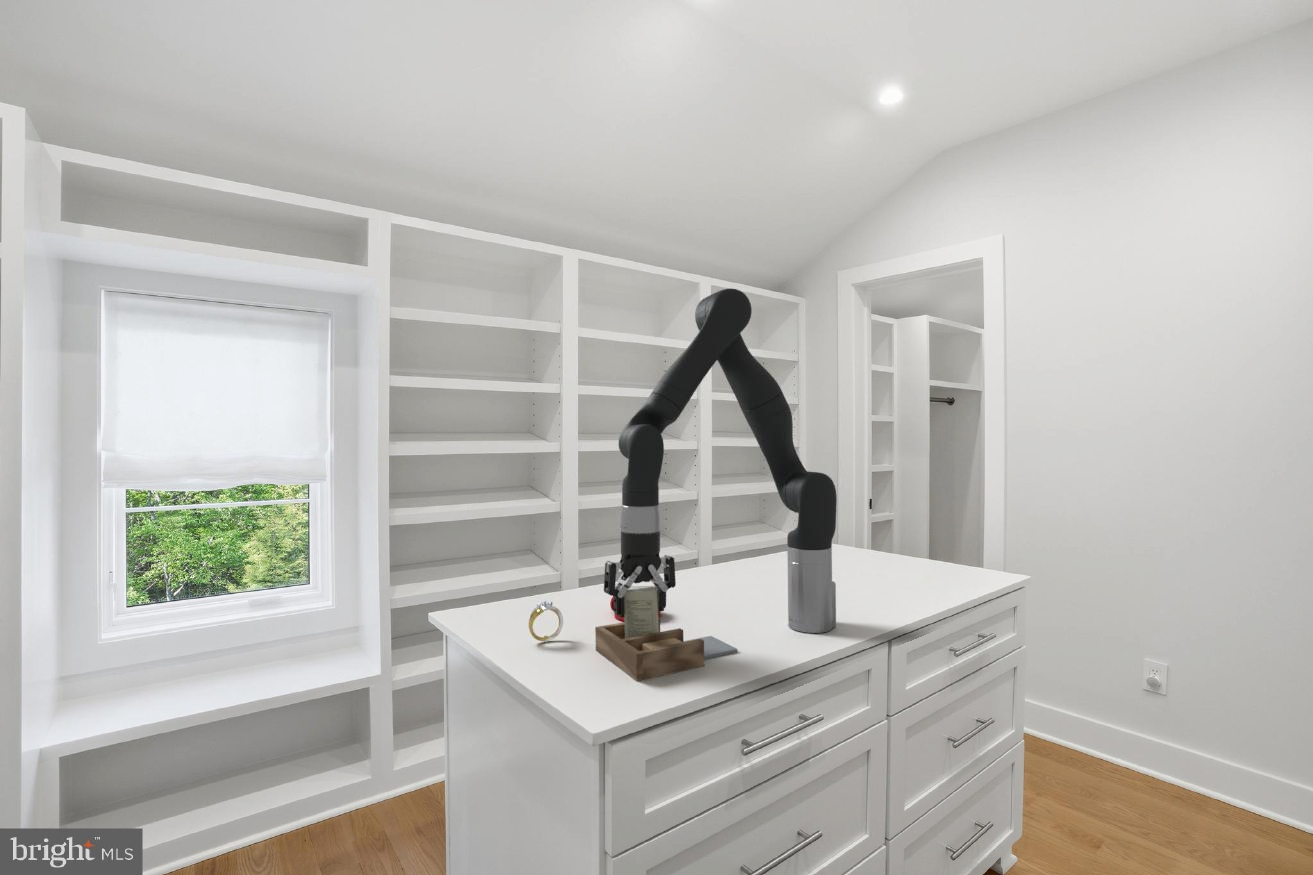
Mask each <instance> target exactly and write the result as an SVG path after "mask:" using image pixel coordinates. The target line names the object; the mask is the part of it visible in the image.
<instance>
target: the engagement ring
mask: <svg viewBox="0 0 1313 875" xmlns="http://www.w3.org/2000/svg"><path fill="white" fill-rule="evenodd" d="M548 610H549V611H552V612H554V614H556V615H557V618H558V627H557V628H556V631H555V632H554V633H552V634H551V635H549V636H548V635H544V636H539V635H537V634H536V633H535V630H534V628H533V625H534V621H535V620H536V619H537V617H539V616H540V615H542V614H543V613H544V611H548ZM527 625H528V629H529V630H528V631H529V633H530V635H531V636H532V637H533V638H534V639H535V640H537V641H539V642H543V643H544V642H545V643H548V642H549V641H552V640H554V639H555V638H557V637H558V636H559V635H560V634H561V632H562V629H563V626H564V616H563V614H562V611H561V610H560V609H559V608H558V607H556V606H553V601H551V602H547V601H542V602H541V603H540V604H536V607H535V608H534V609H533V610H532V611H531V613H530V615H529V618H528V623H527Z"/></svg>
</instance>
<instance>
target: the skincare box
mask: <svg viewBox="0 0 1313 875" xmlns="http://www.w3.org/2000/svg"><path fill="white" fill-rule="evenodd" d="M623 597H624V621H623V622H624V624H625V639H626V638H631V637H636V636H642V635H647V634H652V633H658V632H659V623H658V597H657V586H655V585H631V587H630V588H628V589H627V591H626V593H625V594H624V596H623Z"/></svg>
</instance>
